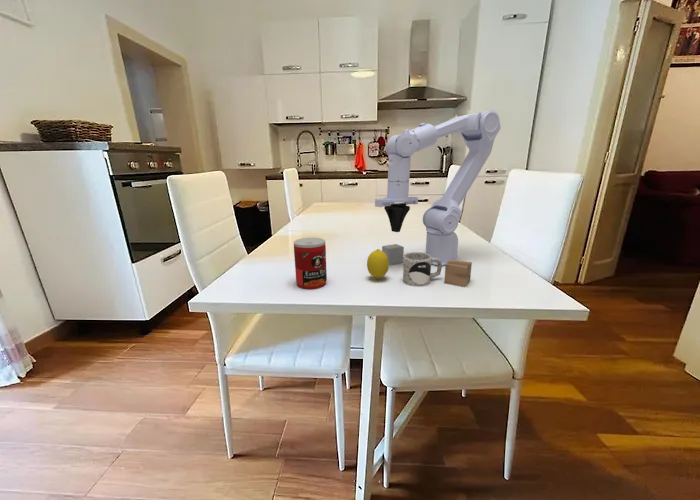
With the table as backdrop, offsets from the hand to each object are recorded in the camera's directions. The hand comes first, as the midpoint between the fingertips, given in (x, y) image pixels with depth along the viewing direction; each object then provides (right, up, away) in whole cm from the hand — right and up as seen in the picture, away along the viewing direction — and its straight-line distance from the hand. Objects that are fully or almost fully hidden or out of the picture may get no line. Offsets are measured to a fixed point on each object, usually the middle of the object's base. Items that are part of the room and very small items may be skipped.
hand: (395, 231), depth 88 cm
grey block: (0, -9, +7) cm, 12 cm away
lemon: (-6, -13, -6) cm, 15 cm away
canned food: (-22, -14, -9) cm, 28 cm away
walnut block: (+14, -13, -9) cm, 21 cm away
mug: (+6, -13, -8) cm, 16 cm away
